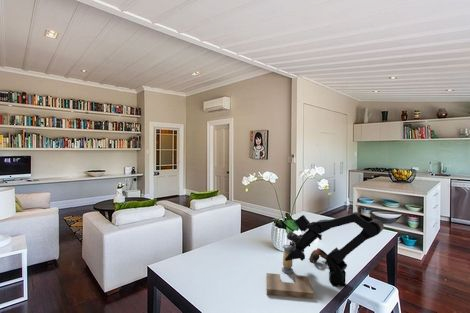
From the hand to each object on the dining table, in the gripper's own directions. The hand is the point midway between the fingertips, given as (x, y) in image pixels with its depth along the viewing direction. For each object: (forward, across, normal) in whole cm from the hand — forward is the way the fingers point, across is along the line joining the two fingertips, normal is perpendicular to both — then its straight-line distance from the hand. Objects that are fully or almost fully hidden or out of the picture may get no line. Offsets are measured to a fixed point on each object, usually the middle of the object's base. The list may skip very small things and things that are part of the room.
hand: (285, 257), depth 130 cm
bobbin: (+4, 0, +6) cm, 7 cm away
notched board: (+4, +16, +5) cm, 17 cm away
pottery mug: (-9, -13, +19) cm, 25 cm away
